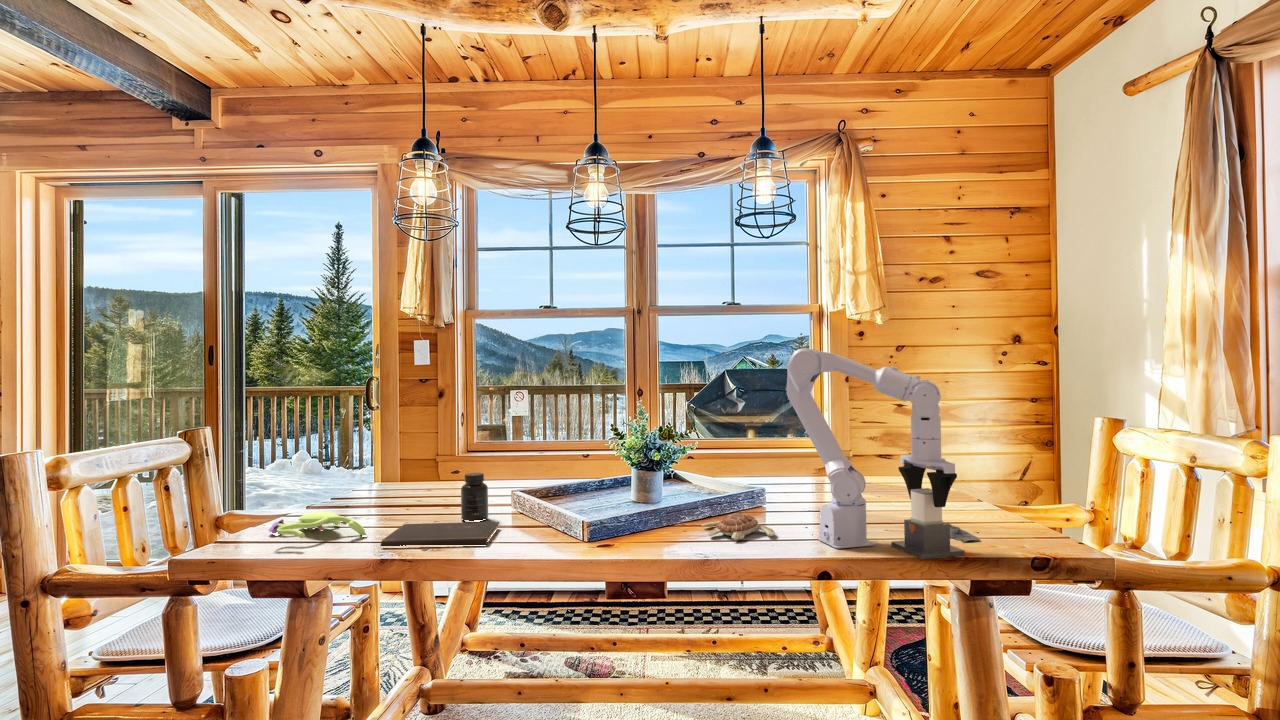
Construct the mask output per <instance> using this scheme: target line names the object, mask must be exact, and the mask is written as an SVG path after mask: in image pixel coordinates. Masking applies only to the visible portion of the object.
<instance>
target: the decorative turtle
mask: <svg viewBox="0 0 1280 720" xmlns="http://www.w3.org/2000/svg"><path fill="white" fill-rule="evenodd" d="M701 526H702V527H703V528H706V527H715V526H716V528H713V529H711V530H710V531H708V532H707V535H708V536H711V537H713V536H715V535H718V534H719V533H722V534H724V535H726V536H729V537H730V536H731V539H732V540H734V541H735V540H736V541H737V540H741V539H744V538H745V536H748V535H750V534H752V533H754V532H755V531H756V530H761V531H763V533H765V534H766V535H767V537H774V536H775V535H776V532H775V530H773V528H770V527H768V526H765V525H763V524H760V523H759V522H758V520H757V519H756V518H755V517H754V516H753V515H749V514H747V513H742V512H734V513H731V514H728V515H726V516H725V517H724V518H722V519H721V520H716V521H710V522H706V523H703V524H701Z"/></svg>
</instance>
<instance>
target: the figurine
mask: <svg viewBox="0 0 1280 720" xmlns="http://www.w3.org/2000/svg"><path fill="white" fill-rule="evenodd" d="M298 520H299V521H297V522H292V523H286V524H285V523H284V522H285V521H284V519H280V520H278V521H276V522H274V523H273V524H272V525H271V526H270V528H269V529H268V532H272V533H276V532H278V534H281V536H282V535H291V536H296V537H297V538H300V539H304V538H305V537H306V534H305V533H304V532H302V531H301V530H299V529H303V528H309V529H311V528H315V527H318V528H317V529H318V530H319V532H321V530H324V528H323V526H324V525H330V524H332V523H333V524H332V525H334V524H335V526H339V525H340V524H341V523H340V521H343V523H347V524H348V527H349V528H350V529H352V530H353V531H355V532H356V533H358V534H359V536H361V535H367V534H366V530H365V528H364V527H363V525H362V524H360V523H359V522H357V521H355V520H354V519H351V518H349V517H347V515H344V516H343V515H340V514H337V513H335V512H324V511H323V512H322V511H319V512H317V511H316V512H311V513H310V512H309V513H305V514H303V515H301V516H299V517H298ZM338 524H339V525H338ZM324 531H325V530H324Z"/></svg>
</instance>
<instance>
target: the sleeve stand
mask: <svg viewBox="0 0 1280 720" xmlns="http://www.w3.org/2000/svg"><path fill="white" fill-rule="evenodd" d="M903 522H904V523H903V524H904V525H903V526H904V528H903V530H904V533H903V534H904V540H896V541H891V542H890V544H891V547H892V548H894V549H896V548H897V550H899V551H901V550H902V551H901V552H903V551H904V553H905V554H908V555H911V556H914V557H915V558H918V559H920V560H931V559H940V558H941V559H942V558H954V557H963V556H965V557H966V551H965V549H961V548H959V547H957V546H953V545H951V539H950V524H951V523H949V524H947V523H948V522H944V521H943V524H938V525H926V526H924V525H921V524H918V523H915V522H912V521H911V518H908V519H904V520H903Z"/></svg>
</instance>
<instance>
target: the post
mask: <svg viewBox="0 0 1280 720" xmlns="http://www.w3.org/2000/svg"><path fill="white" fill-rule="evenodd" d="M910 507H911V508H910V515H911V517H910V519H911V521H912V522H915V523H918V524H921V525H924V526H926V525H938V524H943V522H944V520H943V507H935V506H934V503H933V493H932V488H927V487H926V488H922V489H911V500H910Z"/></svg>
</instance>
